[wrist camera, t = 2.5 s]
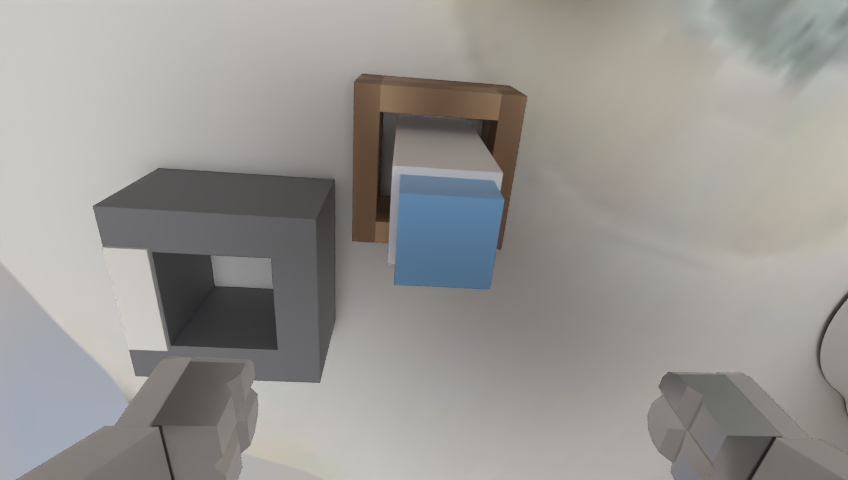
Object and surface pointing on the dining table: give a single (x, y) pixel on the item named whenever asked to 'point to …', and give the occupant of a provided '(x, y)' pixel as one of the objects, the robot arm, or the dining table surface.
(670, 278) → the dining table surface
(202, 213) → the port
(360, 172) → the holster
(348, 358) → the dining table surface
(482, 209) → the plug
